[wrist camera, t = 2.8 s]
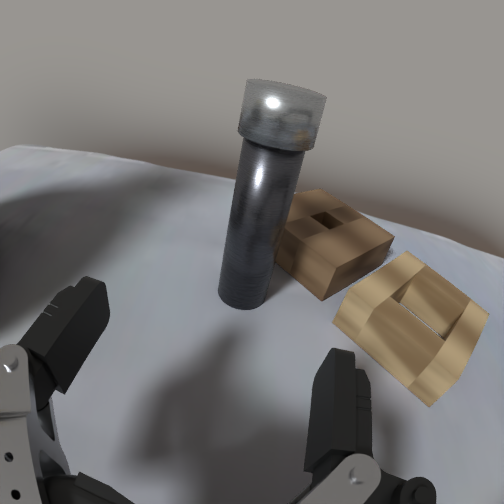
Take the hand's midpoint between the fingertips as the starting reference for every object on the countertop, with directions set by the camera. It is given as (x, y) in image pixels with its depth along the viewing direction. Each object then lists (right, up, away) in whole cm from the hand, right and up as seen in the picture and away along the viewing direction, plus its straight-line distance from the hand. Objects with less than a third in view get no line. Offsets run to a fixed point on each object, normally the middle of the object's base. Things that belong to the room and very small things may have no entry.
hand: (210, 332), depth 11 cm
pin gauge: (+1, 0, +14) cm, 14 cm away
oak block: (+14, -4, +13) cm, 20 cm away
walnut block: (+8, +3, +20) cm, 22 cm away
